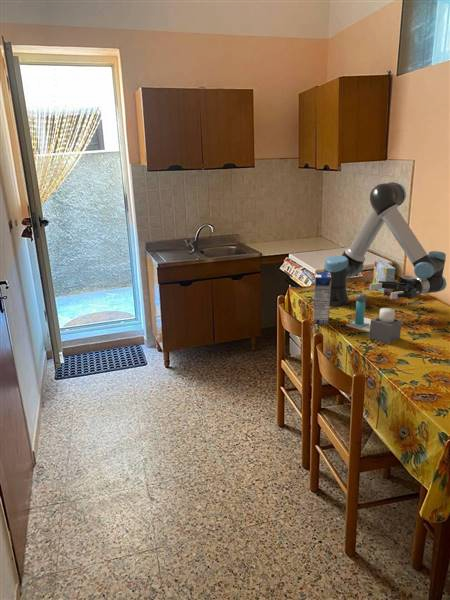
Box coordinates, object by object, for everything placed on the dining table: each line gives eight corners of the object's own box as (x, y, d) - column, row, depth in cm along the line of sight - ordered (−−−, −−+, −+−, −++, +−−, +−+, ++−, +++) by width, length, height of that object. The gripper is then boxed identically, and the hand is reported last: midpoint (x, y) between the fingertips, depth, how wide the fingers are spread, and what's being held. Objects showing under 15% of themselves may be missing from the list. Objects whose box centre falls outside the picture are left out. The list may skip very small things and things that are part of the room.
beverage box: (312, 324, 204) (315, 277, 197) (313, 316, 214) (315, 271, 208) (328, 325, 203) (331, 278, 196) (327, 316, 213) (330, 271, 206)
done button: (375, 321, 186) (377, 310, 184) (383, 318, 190) (384, 307, 188) (389, 325, 182) (390, 313, 180) (396, 321, 186) (398, 310, 184)
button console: (369, 337, 188) (370, 320, 186) (380, 332, 194) (381, 314, 192) (389, 344, 182) (391, 325, 180) (399, 338, 188) (402, 320, 185)
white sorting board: (346, 325, 202) (346, 323, 202) (363, 318, 211) (363, 316, 211) (374, 334, 192) (375, 332, 192) (391, 326, 201) (391, 324, 201)
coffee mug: (416, 297, 240) (419, 279, 237) (399, 297, 242) (402, 279, 239) (412, 291, 251) (414, 274, 248) (396, 290, 253) (398, 273, 250)
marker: (352, 323, 202) (354, 295, 198) (357, 320, 205) (360, 293, 201) (360, 325, 199) (363, 297, 195) (365, 323, 202) (368, 295, 198)
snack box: (393, 295, 246) (396, 268, 241) (383, 295, 246) (385, 268, 241) (381, 284, 266) (383, 259, 261) (371, 284, 266) (373, 259, 261)
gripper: (436, 302, 199) (399, 308, 192) (396, 286, 221) (361, 291, 213) (439, 286, 197) (401, 291, 189) (398, 272, 219) (363, 276, 211)
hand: (380, 291), depth 201 cm, fingers open, 13 cm apart
